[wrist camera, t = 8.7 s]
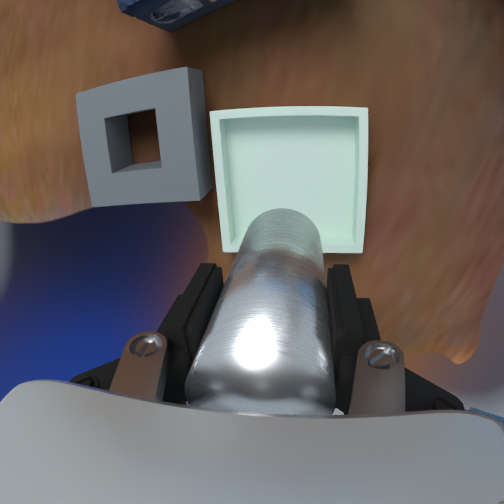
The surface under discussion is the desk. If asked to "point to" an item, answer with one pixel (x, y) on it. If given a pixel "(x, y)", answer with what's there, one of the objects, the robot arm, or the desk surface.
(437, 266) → the desk surface
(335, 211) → the tray
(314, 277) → the steel pin
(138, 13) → the vhs cassette tape
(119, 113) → the pin holder
